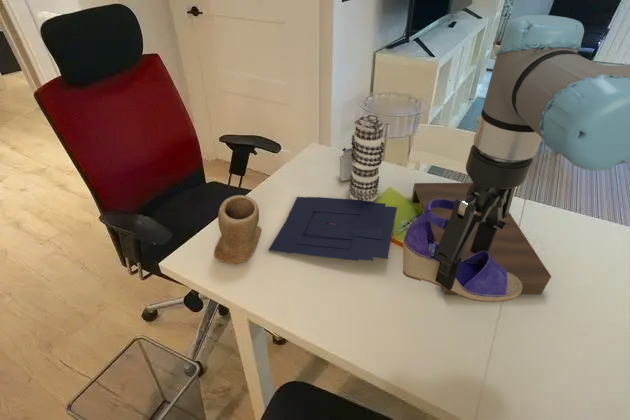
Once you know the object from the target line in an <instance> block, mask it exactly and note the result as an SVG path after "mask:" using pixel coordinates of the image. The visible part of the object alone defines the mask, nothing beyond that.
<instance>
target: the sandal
mask: <svg viewBox="0 0 630 420" xmlns="http://www.w3.org/2000/svg"><path fill="white" fill-rule="evenodd" d="M454 203H455V201H452V200H447V199H434V200H432V201H430V202H429V203H428V204H427V206H426V207H425V210H424V212H423V211H422V213H421V214H420V215H419V216H418V217H417V218H416V219H415V220H414V221H413V222H412V223H411V224H410V225H409V226H408V228H407V230H406V233H405V235H404V237H403V242H402V246H403V247H402V248H403V249H402V274H403V275H404V276H405V277H407V278H409V279H412V280H416V281H419V282H421V281H424V282H428V283H431V284H433V285H435V286H438V287H441V288H442V289H443V288H445V287H443V286H442V285H440V284H439V283H438V282H436V281H435V279H436V275H437V272H438V269H439V265H440V262H441V260H439V259H437V258H436V257H434V255H435V252H436V250H437V248H438V245H439V244H438V243H437V242H435V239H434V235H433V231H432V227H431V224H433V225H435V226H437V227H440V228H441V229H443V230H445V229H446V226H447V224H448V221H449V219H448V218H445V219H443V218H441V217H439V216H437V215H435V214H433V213H431V208H445V209H450V210H453V207H454ZM522 287H523V286H522V283H521V281H520V280H519V279H518V278H517V277H516V276H514V275H513V274H511V273H508V272H506V270H505V269H503V268H502V267H501V266H500V265H498V264H497V263H496V262H495V261H494V260H493V259H492V257H491V256H490V254H489V253H488V252H487V251H481V252H478V253H476V254H474V255H472V256H471V257H469V258H467V259H465V260H464V261H463V260H462V261H461V264H460V267H459V270H458V273H457V276H456V279H455V281H454V284H453V287H452V289H451V290H450V291H452V292H454V293H456V294H458V295H457V296H460V297H462V298H465V299H467V300H472V301H475V302H483V303H498V302H499V303H500V302H507V301H511V300H512V301H513V300H514V299H516V298H517V297H519V296H520V295H521V294H520V293H521V291H522ZM445 289H446V288H445Z"/></svg>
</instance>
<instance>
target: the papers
mask: <svg viewBox="0 0 630 420" xmlns="http://www.w3.org/2000/svg"><path fill="white" fill-rule="evenodd" d="M386 205H387V204H386V203H384V202H375V201H373V202H372V201H363V200H352V199H351V198H335V197H320V196H315V197H314V196H297V197H296V198H295V201H294V203H293V205H292V207H291V209H290V211H289V214H288V216H287V218H286V219H285V221H284V224H283V225H282V227H281V228H280V230H279V232H278V233H277V235H276V237H275V238H274V240H273V242H272V243H271V244H270V246H269V248H268V251H272V252H278V253H283V254H296V255H297V254H298V255H305V256H315V257H324V258H332V259H339V260H340V259H341V260H347V261H356V262H357V261H359V260H360V261H369V262H371V261H372V262H373V261H374V259H384V260H388V259H389V254H390V249H391V242H392V236H393V230H394V225H395V221H396V215H397V210H398V206H388V205H387V206H386Z"/></svg>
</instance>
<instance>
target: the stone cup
mask: <svg viewBox="0 0 630 420" xmlns="http://www.w3.org/2000/svg"><path fill="white" fill-rule="evenodd" d="M217 220H218V221H217V222H218V228H219V232H220V237H219V239H218V241H217V244H216V245H215V247H214V250H213V257H214V259H216V260H217V261H219V262H222V263H224V264H230V265H237V264H243V263H246V262H247V261H248V260H249V259H250V258H251V257H252V255H253V253H254V252H255V249H256V247H257V244H258V241H259V238H260V236H261V233H262V227H260V226H259V225H258V224H259V222H260V221H259V220H260V209H259V206H258V204H257V202H256V200H254V198H251V197H249V196H248V195H243V194H237V195H232V196H230V197H227V198H226V199H224V200H223V202H222V203H221V204H220V206H219V209H218V213H217Z"/></svg>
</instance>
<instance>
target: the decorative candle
mask: <svg viewBox="0 0 630 420" xmlns="http://www.w3.org/2000/svg"><path fill="white" fill-rule="evenodd" d="M354 125H355V127H354V128H355V129H354V134H352V135H351V143H350V144H351V148H352V149H351V151H352V154H351V156H352V160H351V161H352V164H353V168H352V173H351V176H350V178H351V179H349V182H350V183H349V190H348V192H349V195H348V196H349V199H352V200H363V201H372V202H375V200H376V199H377V197H378V191H379V183H380V176H379V173H380V166H381V165H382V162H383V153H384V151H385V149H384V148H385V143H384V142H383V141H384V128H385V127H386V123H385V122H384V121H383V120H382V118H380V116H377V115H373V114H365V115H362V116H361V117H359V118H358V119H357V120H356V121H355V122H354Z"/></svg>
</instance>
